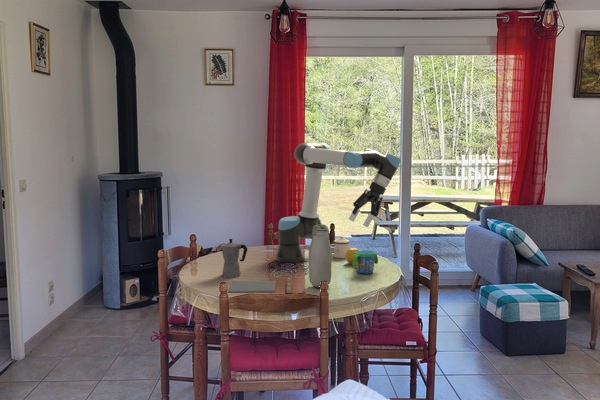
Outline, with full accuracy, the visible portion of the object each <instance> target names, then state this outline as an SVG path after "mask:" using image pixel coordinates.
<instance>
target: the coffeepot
mask: <svg viewBox="0 0 600 400" xmlns="http://www.w3.org/2000/svg"><path fill="white" fill-rule="evenodd" d="M228 240H229V242H225V243H220V244H218V246H219V247H220V249H221V251H222V258H223V267H222V275H221V276H222V277H223V276H225V277H224V278H227V277H233V278H237V277H236V276H238V277H240V276H241V275H240V274H241V273H242V271H241V268H240V262H244V261H245V260H246V255H247V252H248V247H247V246H246V244H240V243H238V242H237V243H236V242H233V238H229V239H228ZM242 249H243V252H242V257H241V258H240V259H239V257H240V250H242ZM239 261H240V262H239Z"/></svg>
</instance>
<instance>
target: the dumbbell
mask: <svg viewBox="0 0 600 400" xmlns="http://www.w3.org/2000/svg"><path fill="white" fill-rule="evenodd" d="M356 251H360V249H358V248H356V247H351V248H350V247H349V249H348V250H347V252H346V254H345V258H344V259H345V260H346V261H347V263H348V264H349V265H352V264H353V258H354V256H355V252H356ZM356 265H357V263H356Z"/></svg>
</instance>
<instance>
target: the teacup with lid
mask: <svg viewBox="0 0 600 400" xmlns="http://www.w3.org/2000/svg"><path fill="white" fill-rule="evenodd" d="M350 243H351V241H350V240H349V239H346V238H345V237H344V236H343V235H340V236H339V238H337V239H335V240H333V243H330V246H331V247H332V246H333V251H332V254H333V256H334V258H336V259H346V258H345V254H346V252H347V250H348V249H350Z"/></svg>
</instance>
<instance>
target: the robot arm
mask: <svg viewBox="0 0 600 400" xmlns="http://www.w3.org/2000/svg"><path fill="white" fill-rule="evenodd" d="M293 153H294V159H295V160H296V162H298V163H299V164H301V165H304V167H305V169H306V175H305V183H304V190H303V191H304V192H303V198H302V206H301V210H300V211H299V212H298V215H297V216H295V215H291V216H285V217H281V218H280V219H279V220H278V247H277V251H276V254H275V261H277V262H278V263H286V264H287V263H289V264H291V263H299V262H302V261H303V260H304V254H303V251H302V247H301V240H302V239H303V240H304V239H309V238H311V239H312V236H313V234H312V230H313V227H314V226H315V225H319V224H322V220H321V219H320V214H319V213H318V208H319V207H318V206H319V199H320V193H321V192H320V191H321V185H322V184H321V183H322V177H323V172H324V171H325V170H326V168H327V165H331V166H332V165H333V166H340V167H347V168H349V169H357V168H374V169H376V170H377V172H376V173H375V176H374V178H373V179H372V180H373V181H372V182H371V183H370V185H369V186H368V187H369V188H368V189H367V188H365V190H364V191H363V193H362V194H361V195H360V196H358V198H357V199H355V201H354V202H353V204H352V206H354V208H353V209H352V211H351V213H350V216H349V217H348V220H349V221H351V222H353V223H354V222H355V220H356V218H357V217H358V214H359V213H360V210H361V208H362V207H364V206H365V205H366V204H367V203H369V202H370V204H371V205H370V213H368V215H367V216H366V219H365V220H364V223H363V224H362V225H363V226H364V227H366V228H369V226H370V225H371V223H372V221H373V219H374V217H375V218H376V217H377V216H378V215H379V213H380V209H381V205H382V201H383V200H384V197H382V196H383V195H384V194H385V192H386V190H387V188H388V186H389V184H390V183H391V180H392V178H393V177H394V176H395V173H396V172H397V170H398V169H399V166H400V165H401V163H402V162H401V161H402V159H401V158H400V157H399V156H397V155H394V154H393V153H392V152H391V153H390V152H388V153H387V154H386V155H384V154H382V153H380V152H378V151H377V150H375V149H372V148H371V149H370V148H366V149H364V150H363V151H356V150H355V151H354V150H353V151H352V150H344V149H342V150H340V149H331V148H330V146H329V145H328V144H327V143H324V142H302V143H300V144H298V145H297V146H296V147H295V150H294V152H293Z"/></svg>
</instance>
